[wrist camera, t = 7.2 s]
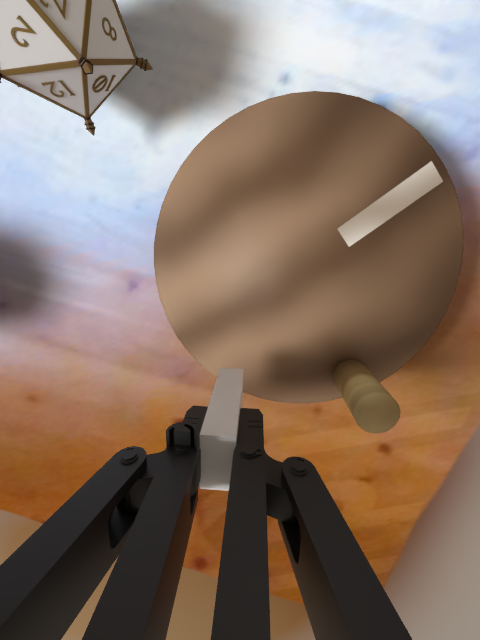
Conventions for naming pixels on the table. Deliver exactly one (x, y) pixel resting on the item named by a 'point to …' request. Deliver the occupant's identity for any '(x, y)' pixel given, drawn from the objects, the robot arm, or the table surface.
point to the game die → (66, 51)
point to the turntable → (310, 250)
